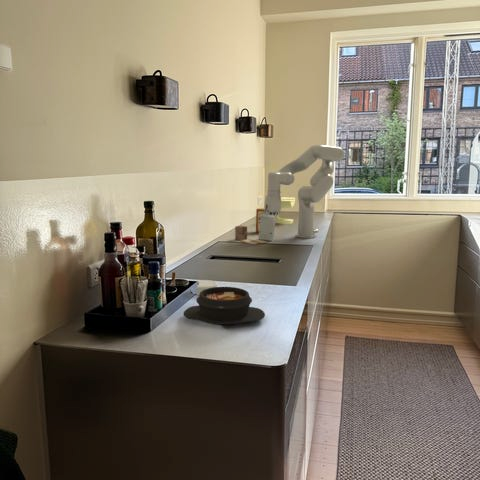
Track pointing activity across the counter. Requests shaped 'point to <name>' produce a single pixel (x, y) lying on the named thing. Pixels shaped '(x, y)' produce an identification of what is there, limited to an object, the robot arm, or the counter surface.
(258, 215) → the baking soda box
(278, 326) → the counter surface
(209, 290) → the casserole
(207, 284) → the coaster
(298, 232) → the robot arm
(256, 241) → the brass plate
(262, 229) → the skincare box
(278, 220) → the pale yellow c-shaped piece
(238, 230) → the walnut block
